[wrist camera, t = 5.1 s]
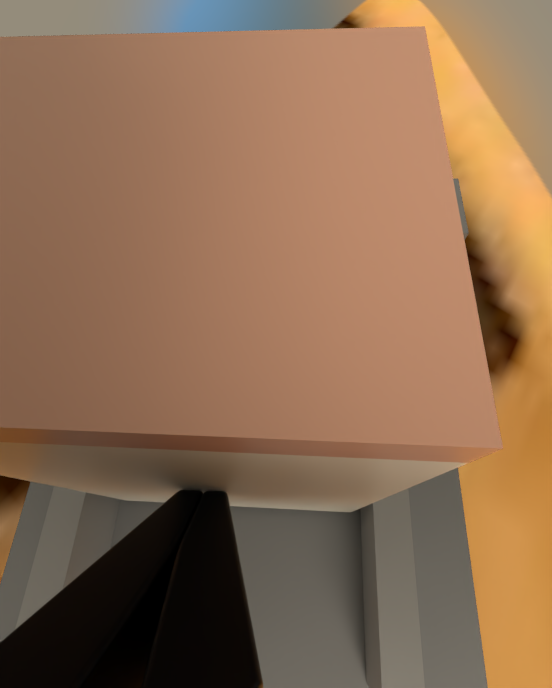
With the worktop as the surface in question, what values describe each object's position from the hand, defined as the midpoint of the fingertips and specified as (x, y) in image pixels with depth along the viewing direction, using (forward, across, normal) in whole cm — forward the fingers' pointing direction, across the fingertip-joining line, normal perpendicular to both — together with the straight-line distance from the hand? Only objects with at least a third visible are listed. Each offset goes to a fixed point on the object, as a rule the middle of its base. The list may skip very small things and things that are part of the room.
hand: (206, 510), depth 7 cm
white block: (+5, 0, +1) cm, 5 cm away
